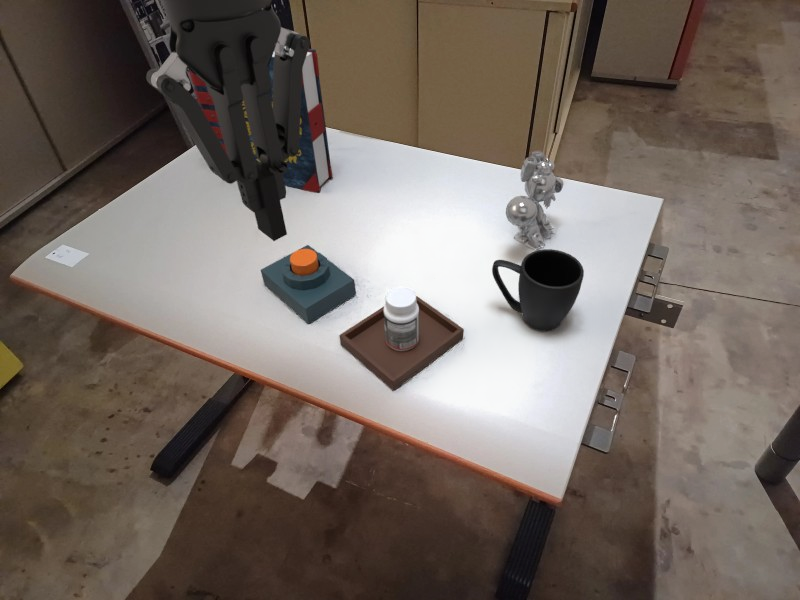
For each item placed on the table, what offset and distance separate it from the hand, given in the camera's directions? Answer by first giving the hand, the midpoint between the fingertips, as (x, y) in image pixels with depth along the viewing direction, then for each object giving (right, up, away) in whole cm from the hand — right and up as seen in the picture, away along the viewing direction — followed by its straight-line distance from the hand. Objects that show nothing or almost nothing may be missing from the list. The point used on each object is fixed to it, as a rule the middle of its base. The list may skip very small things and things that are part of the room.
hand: (272, 231), depth 53 cm
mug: (+31, -9, +28) cm, 43 cm away
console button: (-2, -2, +30) cm, 30 cm away
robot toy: (+34, +3, +41) cm, 53 cm away
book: (-14, +19, +59) cm, 64 cm away
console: (-2, -5, +33) cm, 34 cm away
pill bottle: (+13, -12, +25) cm, 30 cm away
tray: (+12, -12, +25) cm, 30 cm away
